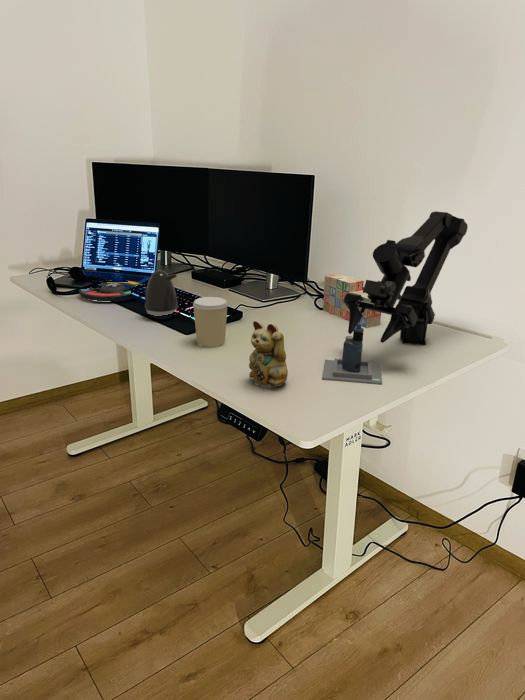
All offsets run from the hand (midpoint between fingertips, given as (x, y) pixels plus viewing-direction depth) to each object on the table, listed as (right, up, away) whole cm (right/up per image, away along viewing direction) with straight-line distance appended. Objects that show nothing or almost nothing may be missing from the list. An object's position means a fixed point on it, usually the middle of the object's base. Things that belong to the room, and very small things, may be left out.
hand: (365, 337), depth 134 cm
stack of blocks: (+3, +7, +42) cm, 43 cm away
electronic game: (-79, +16, +62) cm, 101 cm away
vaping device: (-4, -8, 0) cm, 9 cm away
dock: (-3, -8, -1) cm, 9 cm away
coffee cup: (-40, -1, +17) cm, 43 cm away
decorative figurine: (-24, -11, -7) cm, 27 cm away
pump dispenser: (-57, +7, +38) cm, 69 cm away
